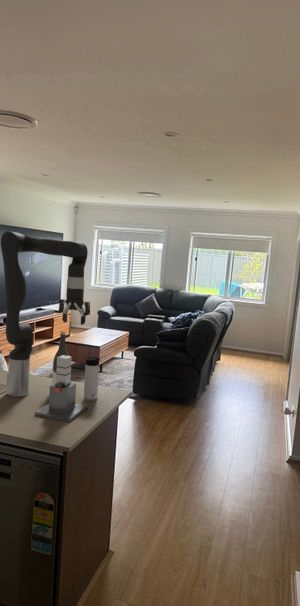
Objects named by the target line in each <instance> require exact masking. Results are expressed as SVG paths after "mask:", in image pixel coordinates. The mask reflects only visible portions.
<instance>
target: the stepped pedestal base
mask: <svg viewBox="0 0 300 606" xmlns="http://www.w3.org/2000/svg"><path fill="white" fill-rule="evenodd" d="M70 383H71V385H69V386H67V387H63V384H60V383H54V384H52V383H51V385H49V395H48V396H49V397H48V398H49V400H48V403H47V404H45V405H44V406H42V407H41V408H39V409H37V410H36V411H34V416H37V417H41V418H47V419H53V420H56V421H62V422H67V423H71V422H73V420H75V419H76V418H77V417H79V416H80V415H82V414H83V413H84V412H86V411H87V410H88V405H87V404H80V403H76V395H77V383H75V382H70Z"/></svg>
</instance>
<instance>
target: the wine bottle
mask: <svg viewBox="0 0 300 606" xmlns="http://www.w3.org/2000/svg"><path fill="white" fill-rule="evenodd" d="M66 335H67V333H66V331H65V330H61V331H60V334H59V336H60V337H59V348H58V350H57V351H56V352H55V355H54V357H53V363H52V379H51V380H52V381H51V385H52V384H54V383H56V371H57V367H56V366H57V357H59V356H61V355H65V356H70V354H69V352H68V350H67V348H66Z"/></svg>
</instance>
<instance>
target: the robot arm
mask: <svg viewBox="0 0 300 606" xmlns="http://www.w3.org/2000/svg"><path fill="white" fill-rule="evenodd" d="M0 248H1V249H0V250H1V256H2V260H3V261H2V262H3V272H4V292H5V293H4V294H5V303H6V304H5V306H6V312H5V313H6V315H5V319H6V320H5V337H6V341H7V343H8V344H10V345H12V346H15V347H14V348H13V349H12V350H10V351H9V352H8V353H9V355H8V356H9V357H8V373H6V386H5V387H6V389H5V390H6V391H5V392H6V395H8V396H10V397H14V398H17V397H18V398H19V397H25V396H28V395H29V393H30V365H31V364H30V363H31V362H30V361H31V353H32V351H33V340H34V331H33V328H32V326H31V325H30V324H29V323H27V322H26V323H24V322H23V323H20V315H21V314H20V313H21V310H22V309H23V305H24V303H25V301H26V298H27V282H26V281H27V280H26V277H25V275H24V273H23V270H22V269H21V266H20V263H19V254H18V253H29V252H33V253H40V254H43V255H44V254H45V255H51V256H60V257H62V256H63V257H66V258H72V259H71V260H72V261H71V263H70V264H68V269H67V279H66V280H67V281H66V296H65V297H66V299H65V298H61V299H59V305H58V312H59V313H61V314H62V322H63V323H68V312H70V311H73V310H74V311H78V313H80V314H79V315H81V316H80V325H81V326H84V325H85V324H86V317H87V316H89V315H91V302H90V301H84V297H85V295H84V293H85V266H86V264H87V259H88V255H89V254H88V250H89V249H88V247H87V245H86V244H85V243H84V242H81V241H72V240H70V241H69V240H62V239H57V238H36V237H33V236H32V237H31V236H28V235H25V234H22V233H20V232H17V231H16V232H15V231H11V230H10V231H9V230H8V231H5V232H3V234H2V235H1V238H0ZM65 305H66V306H65ZM83 306H84V307H83Z"/></svg>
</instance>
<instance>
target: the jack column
mask: <svg viewBox="0 0 300 606" xmlns="http://www.w3.org/2000/svg"><path fill="white" fill-rule="evenodd" d="M56 367H57V371H56V383H60V384H63V387H67V386H69V385H71V383H72V382H71V381H72V379H71V378H72V377H71V376H72V375H71V374H72V356H70V355H69V356H65V355H61V356H59V357H57V366H56Z"/></svg>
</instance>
